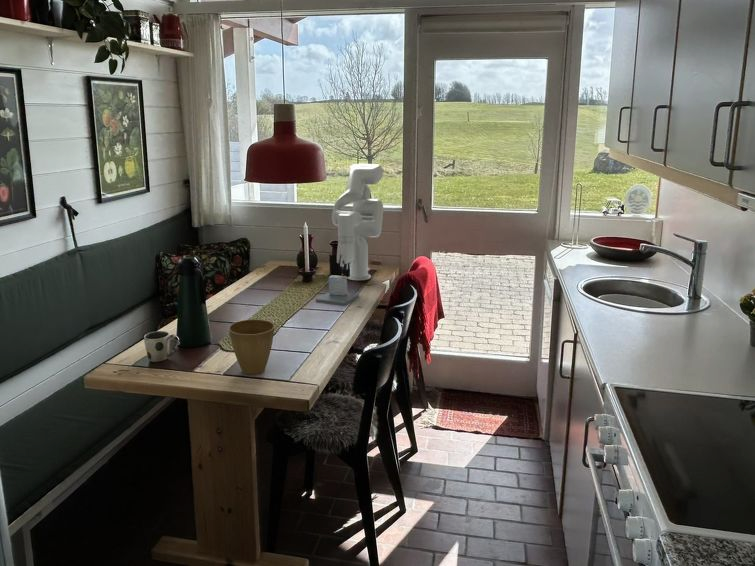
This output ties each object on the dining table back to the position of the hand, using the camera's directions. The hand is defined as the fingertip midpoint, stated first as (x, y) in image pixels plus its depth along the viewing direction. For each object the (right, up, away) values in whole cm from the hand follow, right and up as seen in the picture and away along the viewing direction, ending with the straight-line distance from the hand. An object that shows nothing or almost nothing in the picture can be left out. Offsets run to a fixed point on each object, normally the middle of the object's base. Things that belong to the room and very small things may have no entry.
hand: (346, 276), depth 302 cm
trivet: (-4, -11, -9) cm, 15 cm away
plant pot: (-27, -33, -91) cm, 100 cm away
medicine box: (-4, -9, -6) cm, 11 cm away
